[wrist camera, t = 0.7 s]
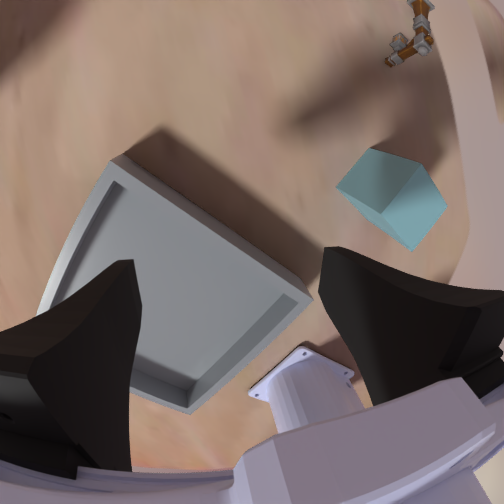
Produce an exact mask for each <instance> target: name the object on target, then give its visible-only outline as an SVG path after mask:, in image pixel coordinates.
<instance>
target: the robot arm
mask: <svg viewBox="0 0 504 504" xmlns="http://www.w3.org/2000/svg"><path fill="white" fill-rule="evenodd" d="M318 293H319V295H320V298H321V300H322V303H323V305H324V307H325V310H326V312H327V314H328V315H329V317H330V319H331V320H332V322H333V324H334V325H335V327H336V328H337V330H338V332H339V333H340V335H341V337H342V338H343V340H344V341H345V343H346V345H347V346H348V348H349V350H350V351H351V353H352V355H353V357H354V359H355V361H356V363H357V365H358V368H359V370H360V372H361V375H362V377H363V379H364V382H365V385H366V387H367V390H368V392H369V395H370V398H371V401H372V404H373V407H370V408H367V409H365V408H364V406H363V404H362V402H361V400H360V398H359V397H358V395H357V393H356V391H355V389H354V387H353V386H352V384H351V382H350V380H349V379H350V378H351V377H353V376H354V374H355V373H354V371H353V370H351V369H349V368H347V367H345V366H343V365H341V364H339V363H337V362H335V361H332V360H330V359H328V358H326V357H324V356H322V355H320V354H318V353H316V352H314V351H312V350H310V349H308V348H306V347H305V346H299V347H297V348H296V349H295V350H294V351H293V352H292V353H291V354H290V355H289V356H288V357H287V358H285V359H284V360H283V361H282V362H281V363H280V364H279V365H278V366H277V367H275V368H274V369H273V370H272V371H271V372H270V373H269V374H267V375H266V376H265V377H264V378H263V379H262V380H260V381H259V382H258V383H257V384H256V385H255V386H253V387H252V388H251V389H250V390H249V391H248V395H249V396H251V397H254V398H257V399H260V400H263V401H266V402H269V403H270V406H271V410H272V413H273V416H274V420H275V423H276V427H277V430H278V433H279V434H276V435H273V436H272V437H270V438H268V439H266V440H265V441H263V442H261V443H259V444H257V445H256V446H254V447H252V448H250V449H248V450H247V451H246V452H245V453H244V454H243V455H242V457H241V458H240V460H239V461H238V463H237V464H236V466H235V467H234V469H233V470H225V471H212V472H196V473H139V472H132V466H131V457H130V441H129V391H130V380H131V373H132V368H133V363H134V357H135V353H136V348H137V343H138V338H139V333H140V329H141V319H142V301H141V296H140V291H139V286H138V281H137V275H136V270H135V264H134V259H125V260H117V261H115V262H114V263H112V264H111V265H110V266H108V267H107V268H106V269H105V270H103V271H102V272H101V273H100V274H98V275H97V276H96V277H95V278H93V279H92V280H91V281H90V282H88V283H87V284H86V285H84V286H83V287H82V288H80V289H79V290H78V291H76V292H75V293H74V294H72V295H71V296H70V297H68V298H67V299H65V300H64V301H62V302H61V303H59V304H57V305H56V306H54V307H52V308H51V309H49V310H47V311H46V312H44V313H42V314H40V315H38V316H36V317H34V318H32V319H30V320H28V321H26V322H24V323H22V324H19V325H17V326H14V327H12V328H9V329H7V330H4V331H1V332H0V504H492V503H491V502H490V500H489V498H488V496H487V495H486V493H485V491H484V490H483V488H482V486H481V484H480V483H479V481H478V479H477V478H476V476H475V474H474V473H473V472H475V471H476V470H477V469H478V468H480V467H481V466H482V465H483V464H485V463H486V462H487V461H488V460H490V459H491V458H492V457H493V456H494V455H495V454H497V453H498V452H499V451H500V450H501V449H502V448H504V362H503V360H502V359H501V358H500V357H502V355H503V351H502V350H501V349H500V348H499V345H500V343H501V341H502V339H503V338H504V291H501V290H483V289H471V288H463V287H457V286H452V285H447V284H442V283H438V282H434V281H430V280H426V279H423V278H420V277H417V276H413V275H410V274H407V273H405V272H402V271H399V270H397V269H394V268H392V267H389V266H387V265H384V264H382V263H380V262H377V261H375V260H373V259H371V258H368V257H366V256H364V255H361V254H359V253H357V252H354V251H351V250H349V249H346V248H343V247H339V246H338V247H324V255H323V262H322V269H321V276H320V283H319V289H318ZM304 352H305V353H304Z"/></svg>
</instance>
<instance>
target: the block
mask: <svg viewBox="0 0 504 504" xmlns="http://www.w3.org/2000/svg"><path fill="white" fill-rule="evenodd" d="M336 188H337V189H338V190H339V191H340V192H341V193H342V194H343V195H344V196H345V197H346V198H347V199H348V200H349V201H350V202H351V203H352V204H353V205H354V206H355V207H356V208H357V210H358V211H359V212H360V213H361V214H362V215H363V216H364V217H365V218H366V219H367V220H368V221H370V222H371V223H373V224H374V225H376V226H377V227H378V228H380V229H381V230H383V231H384V232H385V233H387V234H388V235H390V236H391V237H392V238H394V239H395V240H397V241H398V242H399V243H401V244H402V245H403V246H405V247H406V248H407V249H409V250H410V251H411V252H412V251H413V250H414V249H415V248H416V246H417V245H418V244H419V243H420V241H421V240H422V239H423V238H424V236H425V235H426V234H427V233H428V231H429V230H430V229H431V228H432V226H433V225H434V224H435V222H436V221H437V220H438V218H439V217H440V216H441V215H442V213H443V212H444V210H445V209H446V208H447V204H446V203H445V201H444V199H443V197H442V196H441V194H440V192H439V191H438V189H437V187H436V186H435V184H434V182H433V181H432V179H431V177H430V176H429V174H428V173H427V171H426V170H425V168H424V167H423V165H422V163H419V162H415V161H412V160H409V159H406V158H403V157H399V156H396V155H393V154H389V153H386V152H382V151H378V150H375V149H371V148H369V149H368V150H367V151H366V152H365V153H364V154H363V156H362V157H361V158H360V159H359V160H358V162H357V163H356V164H355V165H354V166H353V167H352V169H351V170H350V171H349V172H348V173H347V175H346V176H345V177H344V178H343V179H342V180H341V182H340V183H339V184H338V185H337V186H336Z"/></svg>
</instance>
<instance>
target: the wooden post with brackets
mask: <svg viewBox="0 0 504 504" xmlns="http://www.w3.org/2000/svg"><path fill="white" fill-rule="evenodd" d="M407 3H408V4H409V5H410V6H411V7H412V8H413V10H414V13H415V18H413V20H414V24H413V26H414V27H413V29H414V30H415V32H416V36H415V37H413V39H412V40H411V41H410V43H409V44H408V45H407V46H406V43H407V41H408V40H407V39H406V38H405V37H404V36H403V35H402V34H400V33H399V34H397V35H395V36H393V42H392V43H391V44H390V45H391V46H392V47H393V48H394V50H395V52H394V53H392V54H391V56H389V57H387V58H386V59H385V63H386V64H387V65H388V66H389V67H392V66H395V65H396V64H397V65H398V64H400V63H402V62H404V60H405V59H406V58H408V57H410V56H412V55H414V54H416V53H419V54H420V55H422V56H426V55H427V54H428V53H429V52H431V51H432V49H431V45H432V44H433V38H432V37H431V36H430V35H429V34H430V33H431V31H430V30H431V29H430V25H429V24H430V22H429V21H428V13H429V11H431V10H433V9H435V8H434V7H435V6H434V5H433V4H432V3H431V2H430V1H429V0H407Z"/></svg>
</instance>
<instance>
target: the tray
mask: <svg viewBox="0 0 504 504" xmlns="http://www.w3.org/2000/svg"><path fill="white" fill-rule="evenodd" d="M125 259H134V264H135V270H136V275H137V281H138V286H139V291H140V296H141V301H142V319H141V329H140V333H139V338H138V343H137V348H136V353H135V357H134V363H133V368H132V373H131V380H130V391H129V392H131V393H133V394H135V395H138V396H140V397H143V398H145V399H148V400H150V401H153V402H155V403H158V404H160V405H163V406H166V407H169V408H171V409H174V410H177V411H180V412H183V413H186V414H189V415H191V414H192V413H193V412H194V411H195V410H197V409H198V408H199V407H200V406H201V405H203V404H204V403H205V402H206V401H207V400H208V399H210V398H211V397H212V396H213V395H214V394H215V393H217V392H218V391H219V390H220V389H221V388H222V387H223V386H225V385H226V384H227V383H228V382H229V381H230V380H231V379H232V378H234V377H235V376H236V375H237V374H238V373H239V372H240V371H241V370H242V369H243V368H245V367H246V366H247V365H248V364H249V363H250V362H251V361H252V360H253V359H254V358H255V357H256V356H258V355H259V354H260V353H261V352H262V351H263V350H264V349H265V348H266V347H267V346H268V345H269V344H270V343H271V342H272V341H273V340H274V339H275V338H276V337H277V336H278V335H279V334H281V333H282V332H283V331H284V330H285V329H286V328H287V327H288V326H289V325H290V324H291V323H292V322H293V321H294V320H295V319H296V318H297V317H298V316H299V315H300V314H301V313H302V312H303V311H304V310H305V309H306V308H307V306H308V305H309V304H310V303H311V302H312V301H313V300H314V299H313V298H312V296H311V294H310V293H309V291H308V290H307V288H306V286H305V285H304V283H303V282H302V280H301V278H299V277H298V276H296V275H295V274H293V273H292V272H291V271H289V270H288V269H286V268H285V267H284V266H282V265H281V264H279V263H278V262H277V261H275V260H274V259H272V258H271V257H269V256H268V255H267V254H265V253H264V252H262V251H261V250H260V249H258V248H257V247H255V246H254V245H252V244H251V243H250V242H248V241H247V240H245V239H244V238H243V237H241V236H240V235H238V234H237V233H235V232H234V231H233V230H231V229H230V228H228V227H227V226H226V225H224V224H223V223H221V222H220V221H218V220H217V219H216V218H214V217H213V216H211V215H210V214H208V213H207V212H206V211H204V210H203V209H201V208H200V207H198V206H197V205H196V204H194V203H193V202H191V201H190V200H188V199H187V198H186V197H184V196H183V195H181V194H180V193H178V192H177V191H176V190H174V189H173V188H171V187H170V186H168V185H167V184H165V183H164V182H163V181H161V180H160V179H158V178H157V177H155V176H154V175H153V174H151V173H150V172H148V171H147V170H145V169H144V168H142V167H141V166H140V165H138V164H137V163H135V162H134V161H132V160H131V159H130V158H128V157H127V156H125V155H124V154H121V155H119V156H117V157H115V158H114V159H112V160H110V161H109V163H108V165H107V166H106V168H105V169H104V171H103V173H102V174H101V176H100V178H99V179H98V181H97V183H96V185H95V186H94V188H93V190H92V192H91V193H90V195H89V197H88V199H87V201H86V202H85V204H84V206H83V208H82V210H81V212H80V214H79V216H78V218H77V219H76V221H75V223H74V225H73V227H72V229H71V232H70V234H69V236H68V238H67V240H66V242H65V244H64V246H63V249H62V251H61V253H60V255H59V257H58V260H57V262H56V264H55V267H54V269H53V272H52V274H51V276H50V279H49V281H48V284H47V287H46V289H45V292H44V294H43V297H42V300H41V303H40V305H39V308H38V311H37V314H36V316H38V315H40V314H42V313H44V312H46V311H47V310H49V309H51V308H52V307H54V306H56V305H57V304H59V303H61V302H62V301H64V300H65V299H67V298H68V297H70V296H71V295H72V294H74V293H75V292H76V291H78V290H79V289H80V288H82V287H83V286H84V285H86V284H87V283H88V282H90V281H91V280H92V279H93V278H95V277H96V276H97V275H98V274H100V273H101V272H102V271H103V270H105V269H106V268H107V267H108V266H110V265H111V264H112V263H114V262H115V261H117V260H125Z"/></svg>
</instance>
